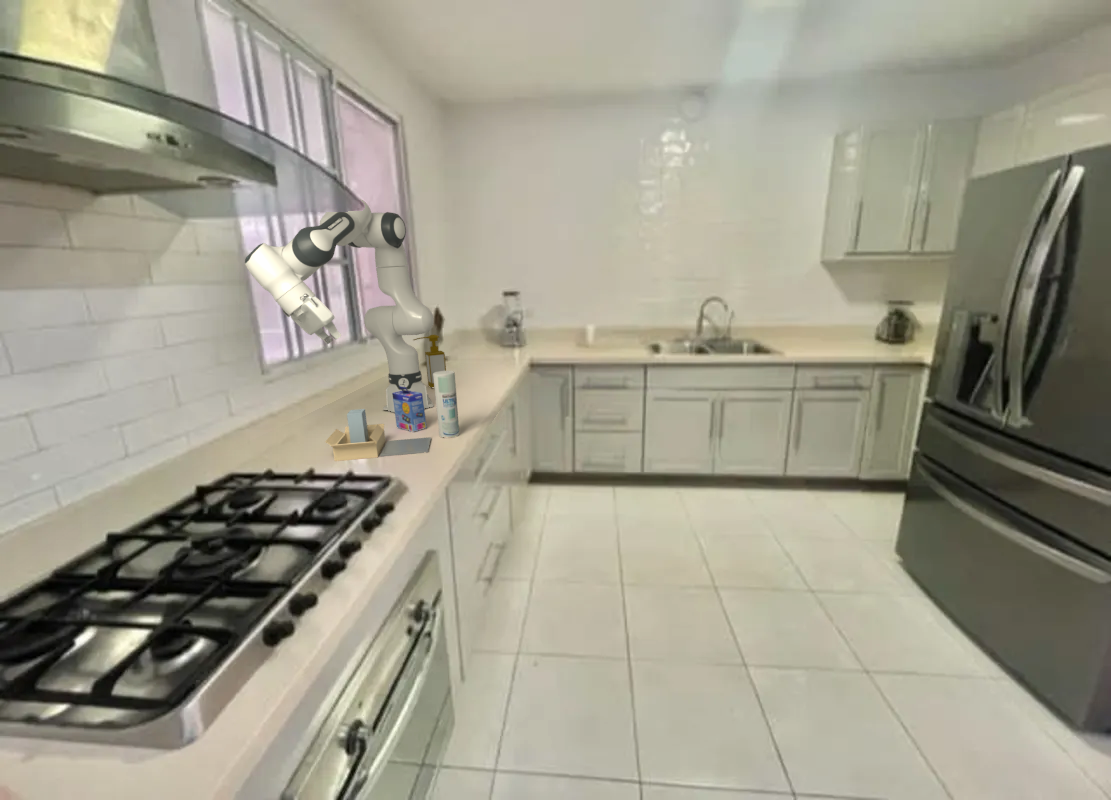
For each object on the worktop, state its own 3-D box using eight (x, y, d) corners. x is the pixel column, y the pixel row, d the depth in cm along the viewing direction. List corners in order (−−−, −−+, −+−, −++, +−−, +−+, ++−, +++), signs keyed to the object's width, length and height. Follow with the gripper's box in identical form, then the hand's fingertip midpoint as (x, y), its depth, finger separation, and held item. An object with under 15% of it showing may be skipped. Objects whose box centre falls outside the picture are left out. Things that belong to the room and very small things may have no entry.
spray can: (444, 439, 165) (438, 375, 161) (435, 435, 170) (429, 372, 166) (463, 435, 169) (458, 372, 164) (454, 431, 174) (449, 369, 169)
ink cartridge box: (395, 428, 180) (390, 385, 177) (409, 424, 185) (404, 382, 181) (413, 432, 174) (408, 388, 171) (427, 428, 178) (422, 385, 175)
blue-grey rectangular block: (355, 449, 160) (350, 409, 157) (369, 448, 160) (364, 408, 157) (352, 454, 155) (346, 414, 152) (366, 453, 155) (361, 413, 153)
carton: (340, 444, 165) (338, 425, 164) (386, 440, 167) (384, 421, 166) (325, 464, 147) (321, 443, 146) (376, 459, 149) (374, 439, 148)
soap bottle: (416, 387, 247) (411, 335, 241) (443, 383, 252) (439, 333, 246) (419, 390, 240) (414, 337, 235) (447, 386, 245) (442, 334, 240)
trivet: (387, 442, 165) (387, 440, 164) (431, 439, 166) (430, 437, 166) (380, 456, 152) (380, 454, 152) (427, 452, 154) (427, 450, 154)
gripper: (315, 285, 139) (353, 327, 144) (300, 300, 156) (334, 338, 161) (295, 299, 136) (334, 342, 141) (282, 313, 153) (317, 351, 158)
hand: (334, 340), depth 151 cm, fingers open, 8 cm apart
